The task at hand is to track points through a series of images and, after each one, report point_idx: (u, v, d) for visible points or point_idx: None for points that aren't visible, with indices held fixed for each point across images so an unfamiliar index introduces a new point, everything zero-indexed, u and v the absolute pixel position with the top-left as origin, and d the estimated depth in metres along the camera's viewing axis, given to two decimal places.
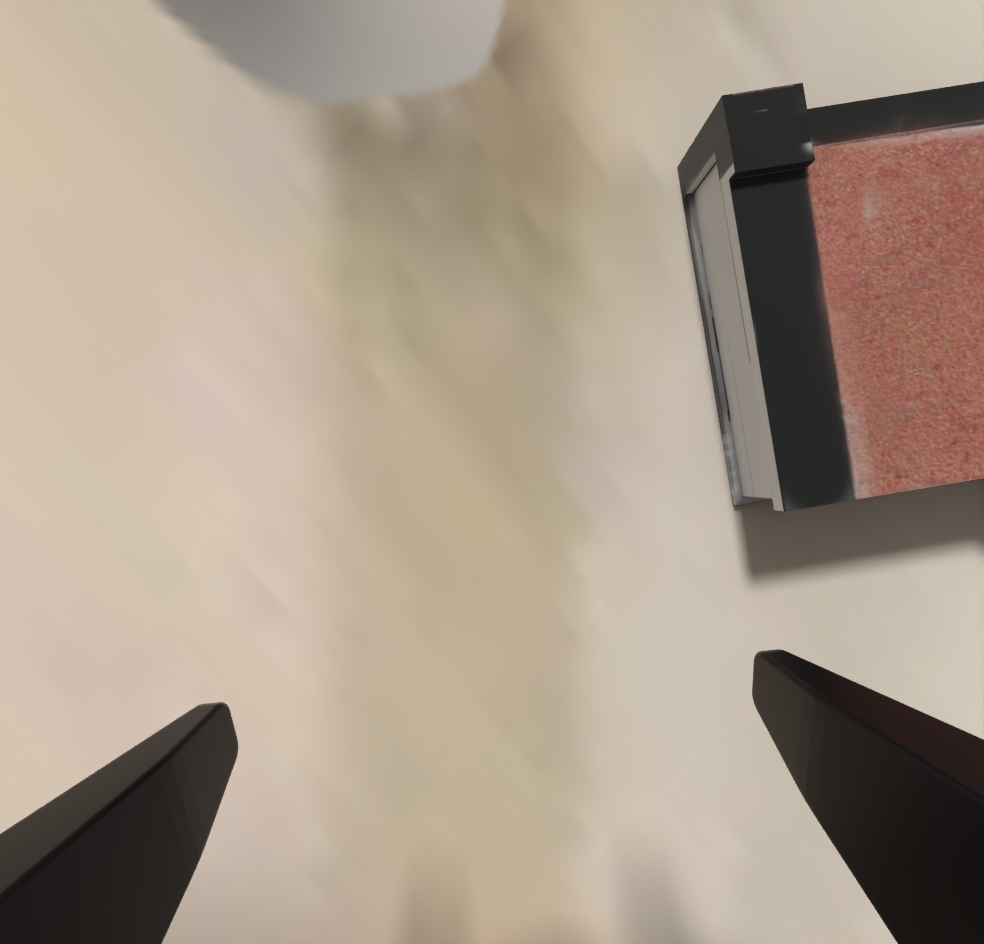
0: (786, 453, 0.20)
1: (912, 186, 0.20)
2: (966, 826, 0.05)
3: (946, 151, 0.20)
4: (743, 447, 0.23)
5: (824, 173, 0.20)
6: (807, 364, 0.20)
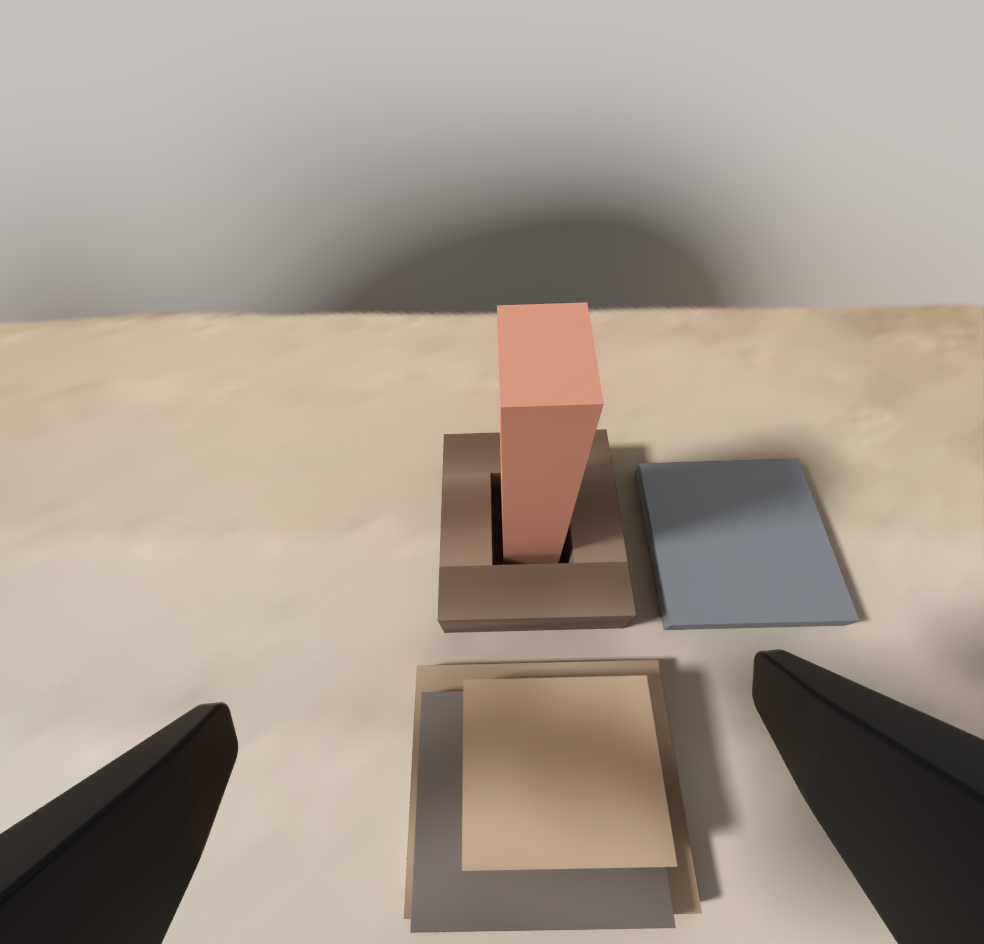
0: None
1: None
2: (966, 826, 0.05)
3: None
4: None
5: None
6: None
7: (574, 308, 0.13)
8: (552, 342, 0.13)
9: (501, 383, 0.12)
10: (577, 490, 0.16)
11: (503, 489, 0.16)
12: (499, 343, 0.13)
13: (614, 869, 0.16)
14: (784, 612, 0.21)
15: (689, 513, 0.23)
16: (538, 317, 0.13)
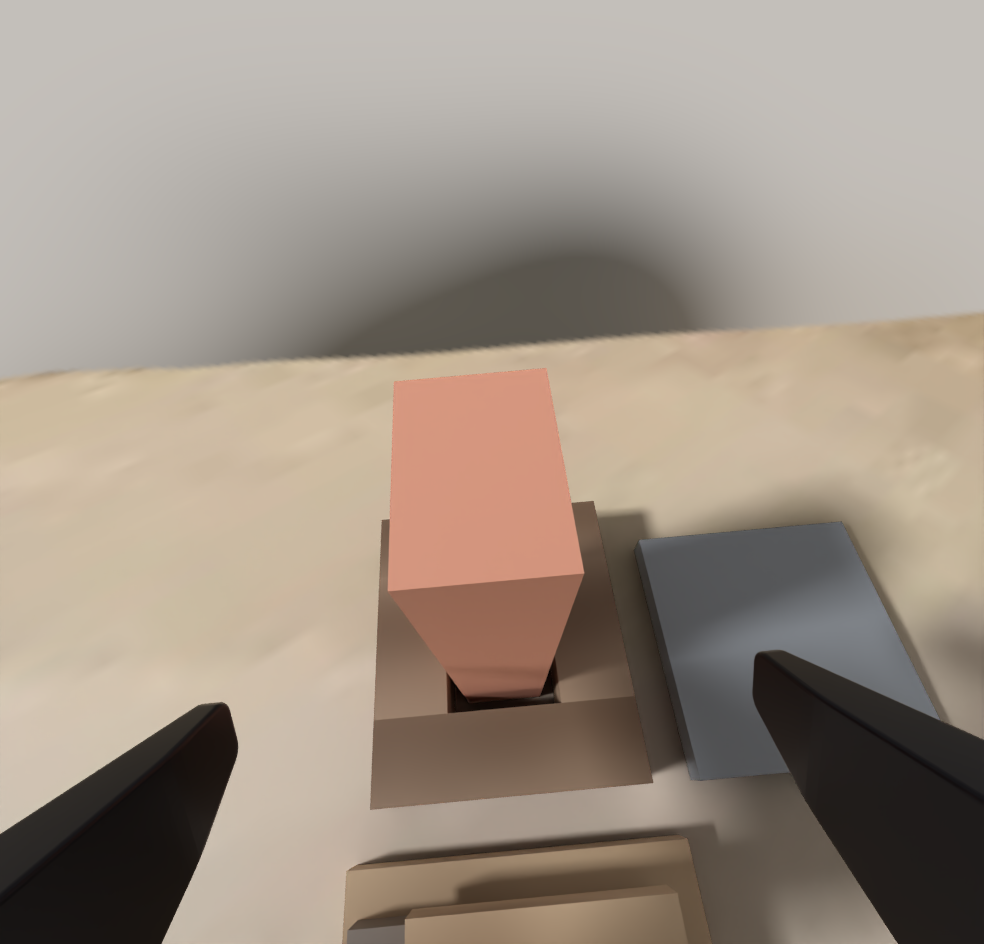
0: None
1: None
2: (966, 826, 0.05)
3: None
4: None
5: None
6: None
7: (526, 380, 0.08)
8: (486, 447, 0.07)
9: (392, 536, 0.07)
10: (554, 648, 0.10)
11: (437, 657, 0.10)
12: (393, 453, 0.07)
13: None
14: None
15: (709, 607, 0.18)
16: (463, 401, 0.08)
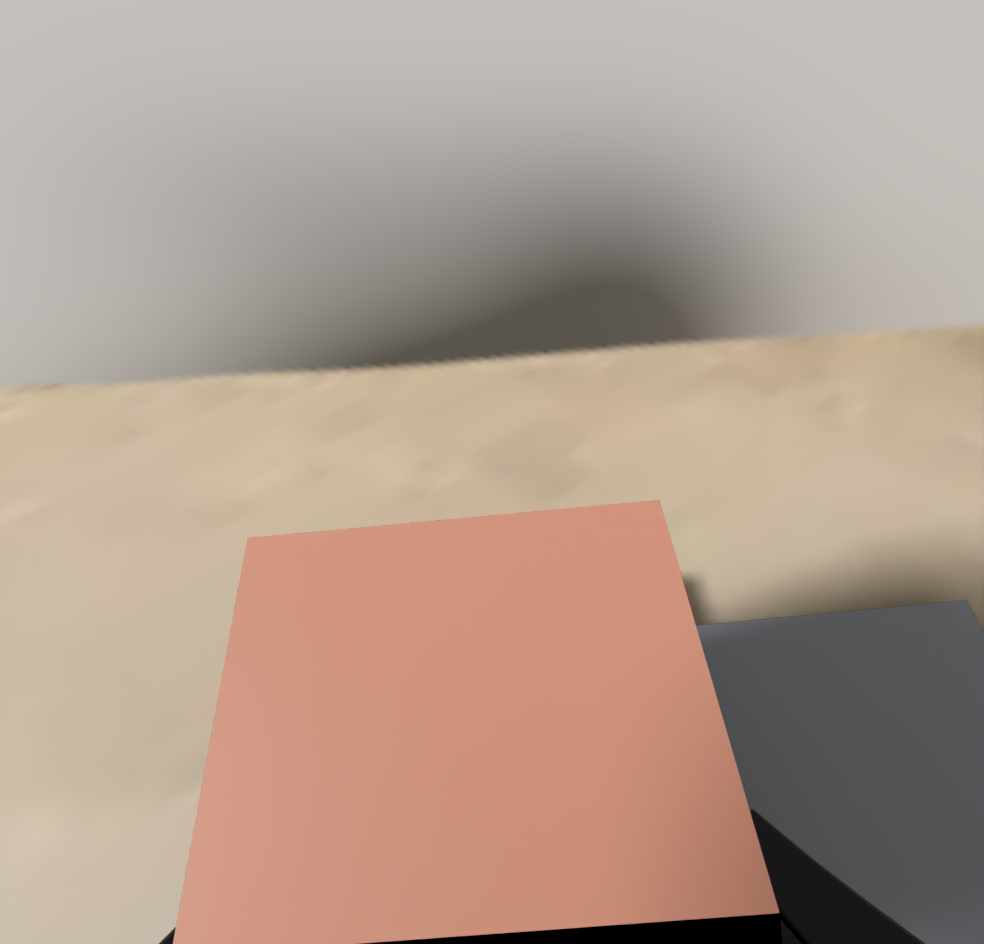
0: None
1: None
2: None
3: None
4: None
5: None
6: None
7: (608, 536, 0.03)
8: (505, 804, 0.02)
9: None
10: None
11: None
12: (197, 831, 0.02)
13: None
14: None
15: (798, 729, 0.13)
16: (433, 608, 0.03)
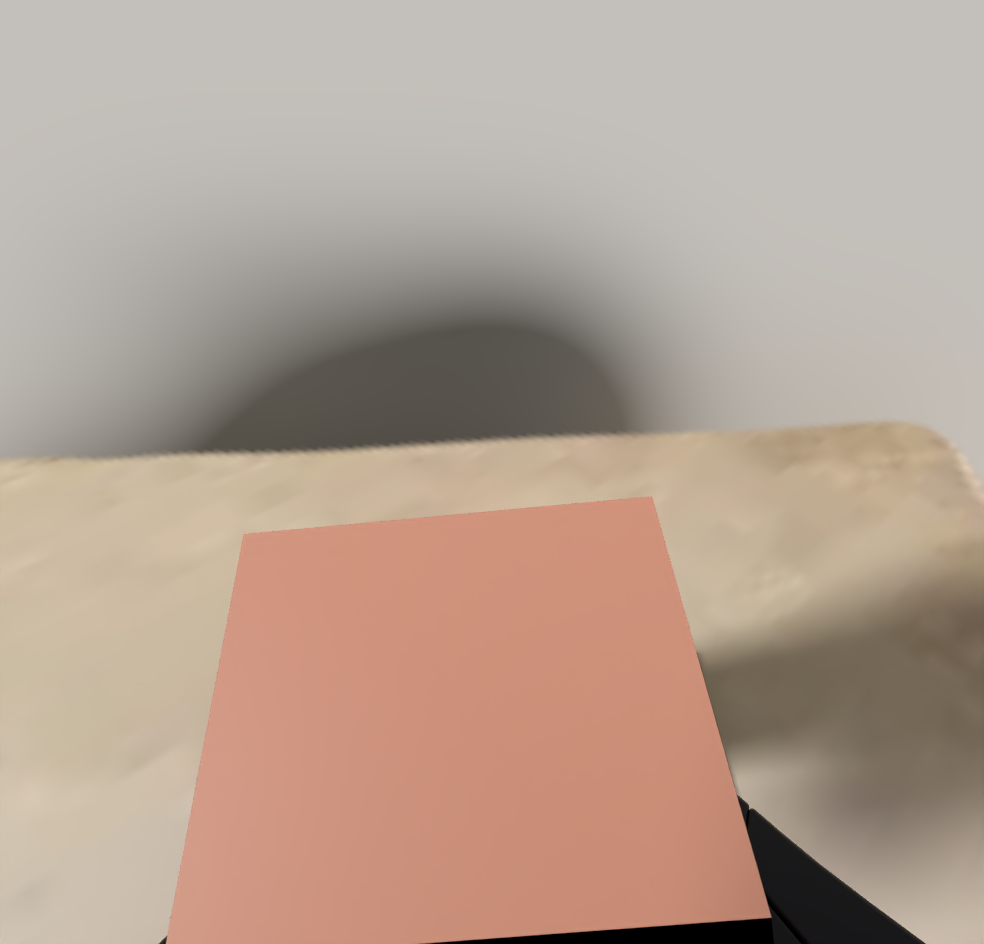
0: None
1: None
2: None
3: None
4: None
5: None
6: None
7: (600, 533, 0.03)
8: (498, 797, 0.02)
9: None
10: None
11: None
12: (192, 822, 0.02)
13: None
14: None
15: None
16: (427, 603, 0.03)
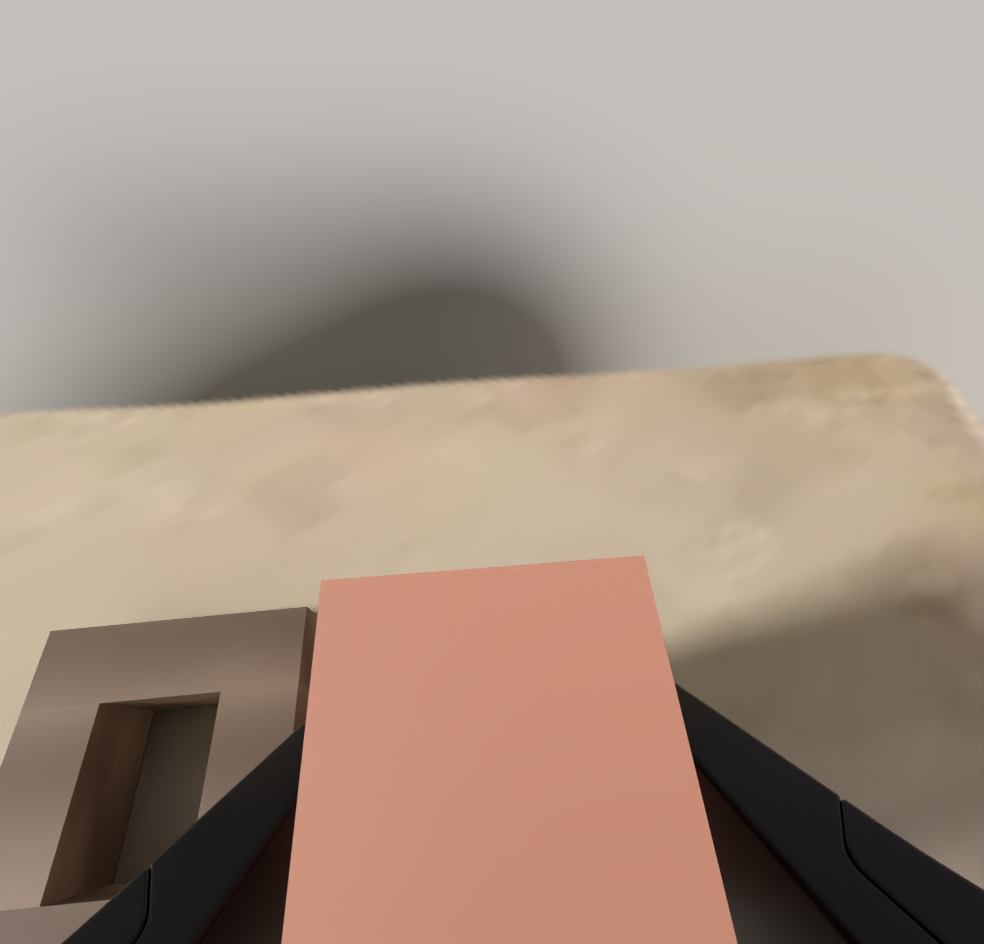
0: None
1: None
2: (741, 848, 0.05)
3: None
4: None
5: None
6: None
7: (603, 586, 0.04)
8: (525, 788, 0.03)
9: None
10: None
11: None
12: (299, 805, 0.03)
13: None
14: None
15: None
16: (468, 639, 0.04)
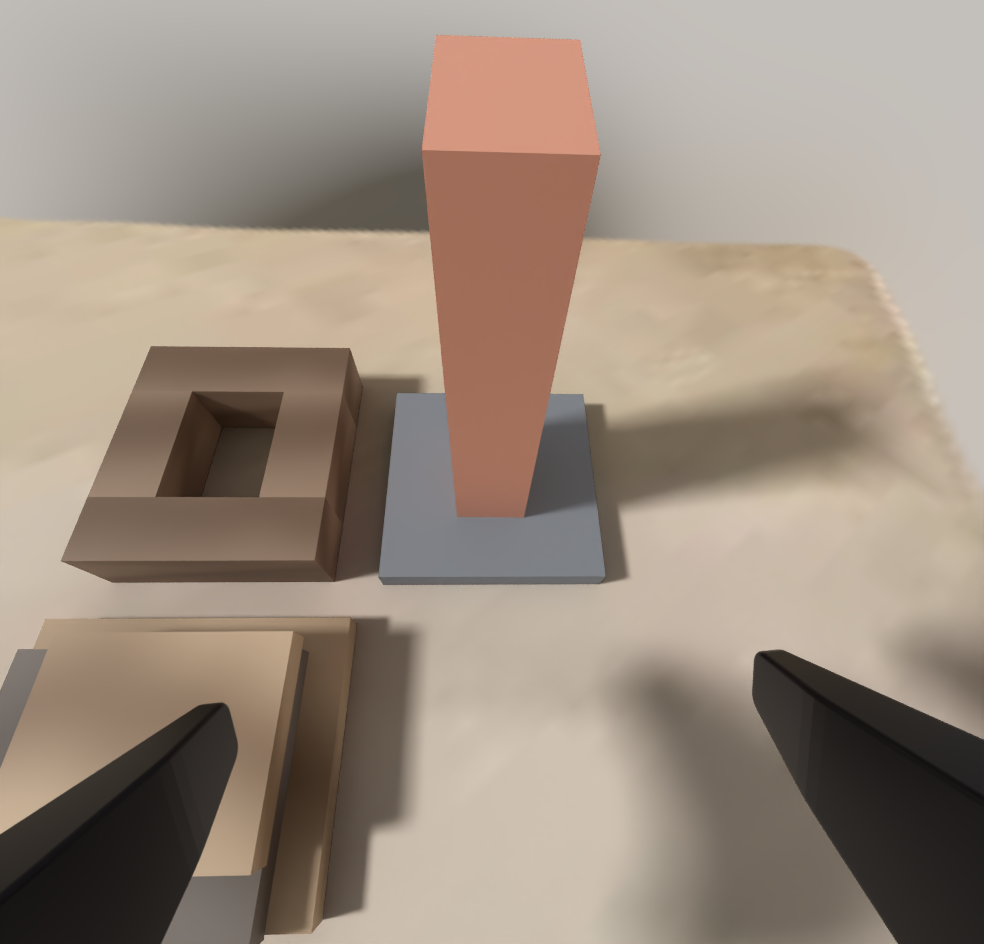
0: None
1: None
2: (966, 826, 0.05)
3: None
4: None
5: None
6: None
7: (560, 44, 0.08)
8: (520, 79, 0.08)
9: (428, 122, 0.07)
10: (552, 371, 0.11)
11: (444, 362, 0.11)
12: (432, 74, 0.08)
13: (192, 877, 0.12)
14: (519, 565, 0.17)
15: (438, 450, 0.20)
16: (500, 51, 0.08)
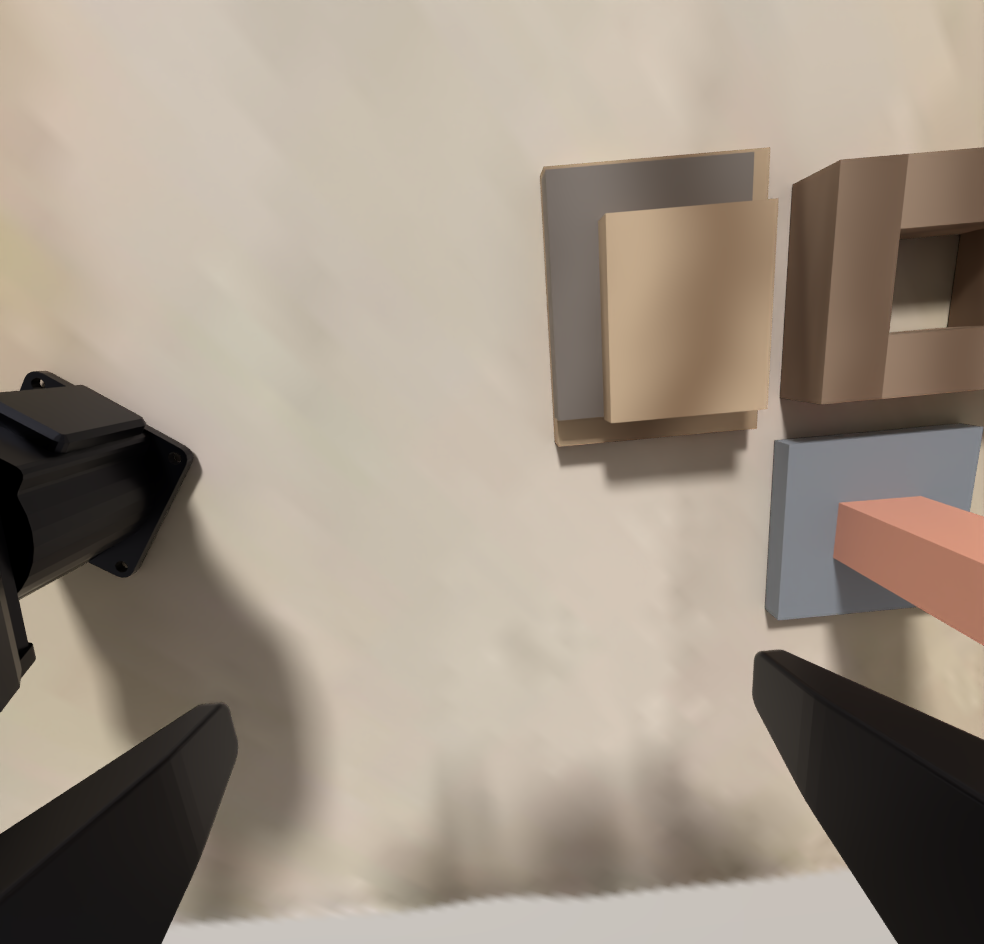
0: None
1: None
2: (966, 826, 0.05)
3: None
4: None
5: None
6: None
7: None
8: None
9: None
10: None
11: None
12: None
13: (596, 370, 0.18)
14: (791, 556, 0.21)
15: (909, 478, 0.20)
16: None
